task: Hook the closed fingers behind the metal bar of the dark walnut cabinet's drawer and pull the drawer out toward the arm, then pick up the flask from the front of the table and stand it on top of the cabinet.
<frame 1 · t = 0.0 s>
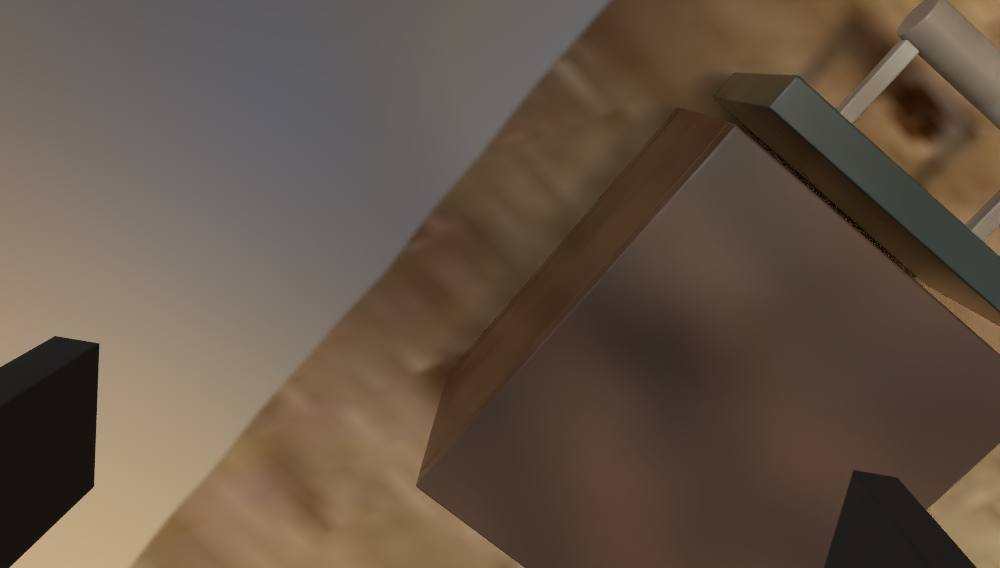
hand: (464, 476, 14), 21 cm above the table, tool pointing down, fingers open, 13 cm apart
cabinet: (672, 341, 35), on the table
drawer: (796, 277, 29), point 5 cm above the table, slide at 1.0 cm
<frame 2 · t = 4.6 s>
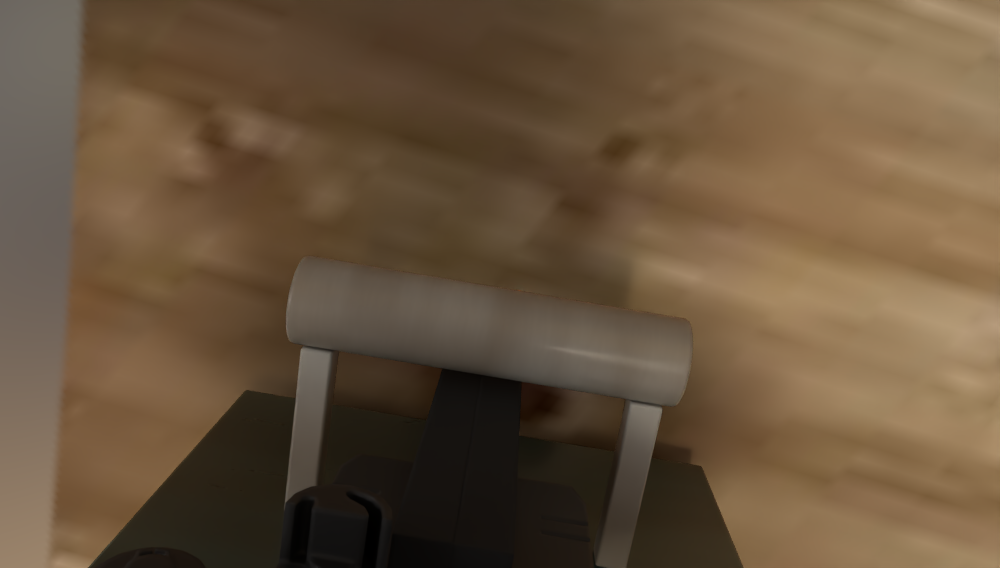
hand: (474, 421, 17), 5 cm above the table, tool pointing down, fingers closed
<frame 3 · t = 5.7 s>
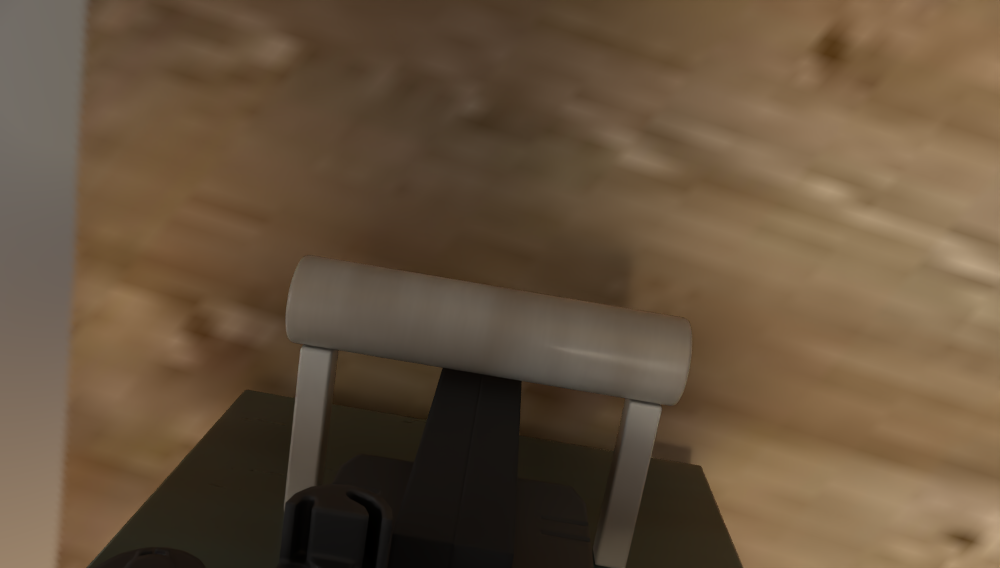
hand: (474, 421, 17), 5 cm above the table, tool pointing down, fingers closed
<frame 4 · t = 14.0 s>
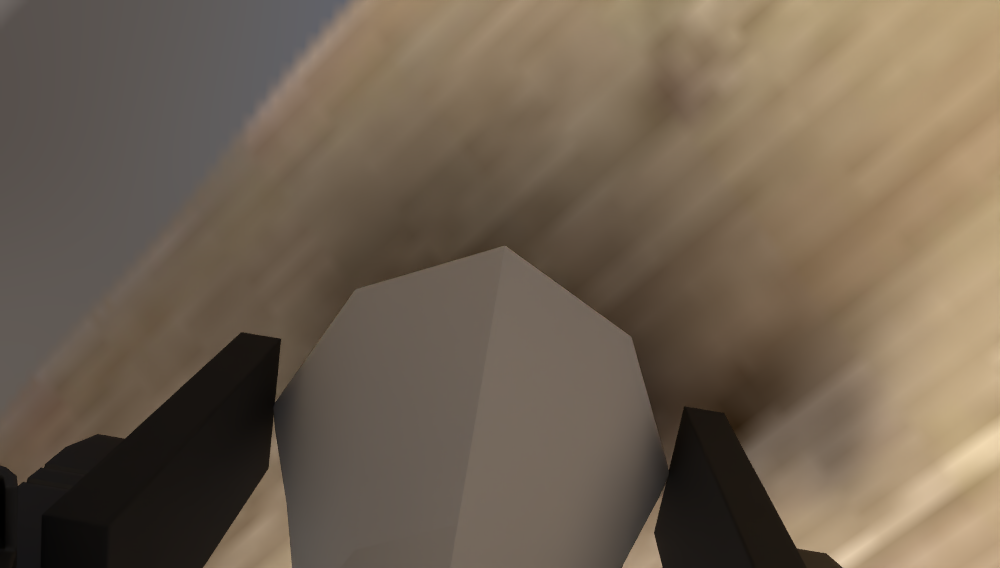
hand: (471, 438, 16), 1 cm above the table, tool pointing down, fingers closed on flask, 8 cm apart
flask: (473, 428, 16), point 1 cm above the table, touching gripper
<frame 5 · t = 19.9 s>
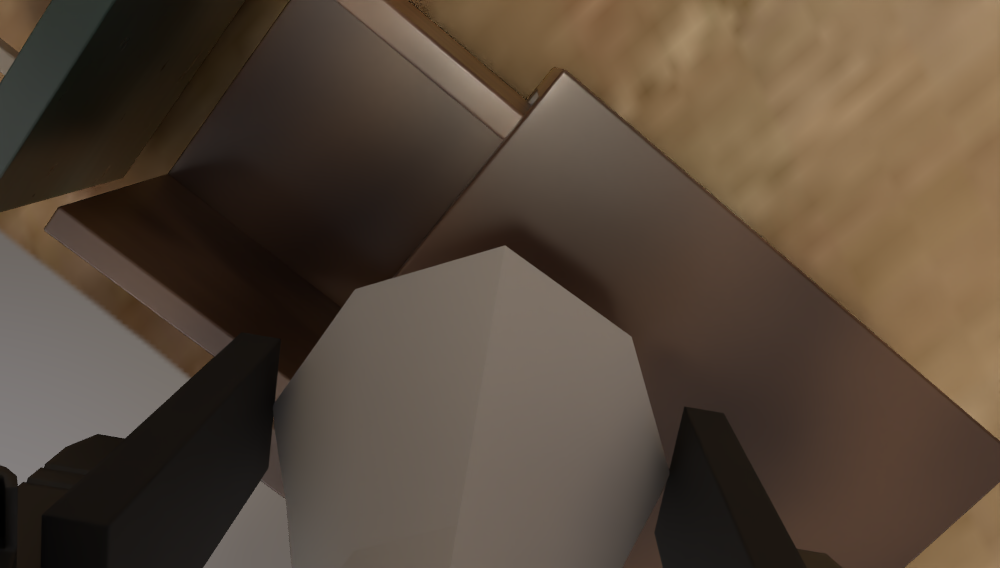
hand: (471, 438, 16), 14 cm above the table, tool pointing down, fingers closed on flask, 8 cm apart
cabinet: (595, 339, 30), on the table
flask: (473, 428, 16), point 14 cm above the table, touching gripper
drawer: (254, 110, 24), point 5 cm above the table, slide at 9.0 cm
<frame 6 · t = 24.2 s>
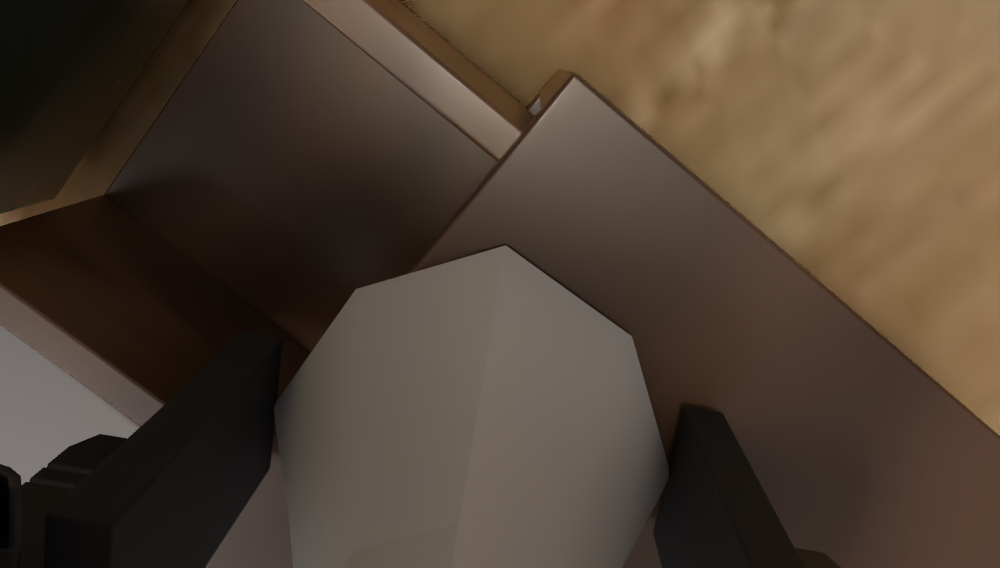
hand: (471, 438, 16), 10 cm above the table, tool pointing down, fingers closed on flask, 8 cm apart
cabinet: (606, 384, 26), on the table
flask: (474, 428, 16), point 10 cm above the table, touching gripper
drawer: (197, 121, 20), point 5 cm above the table, slide at 9.0 cm
when the fingers open (10 cm above the table, at t = 26.0 s): flask stays where it is, resting on cabinet.
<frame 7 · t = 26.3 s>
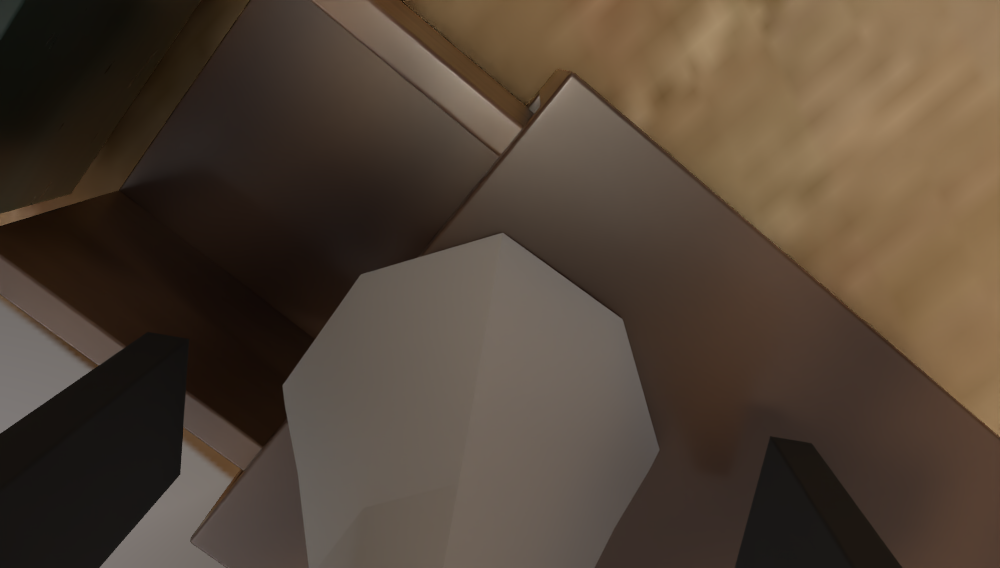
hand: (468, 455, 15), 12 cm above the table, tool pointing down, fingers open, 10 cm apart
cabinet: (604, 374, 27), on the table
flask: (472, 408, 17), point 10 cm above the table, touching cabinet
drawer: (211, 118, 21), point 5 cm above the table, slide at 9.0 cm
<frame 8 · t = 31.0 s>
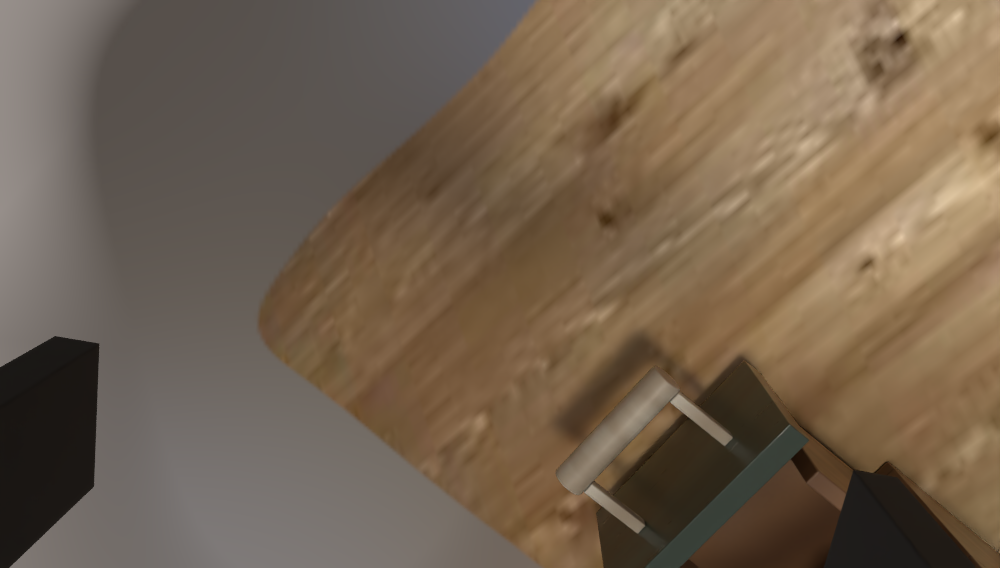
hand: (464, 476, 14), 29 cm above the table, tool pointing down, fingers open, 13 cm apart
drawer: (745, 525, 41), point 5 cm above the table, slide at 9.0 cm
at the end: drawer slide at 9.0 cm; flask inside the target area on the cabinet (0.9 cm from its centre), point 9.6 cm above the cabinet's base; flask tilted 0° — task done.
